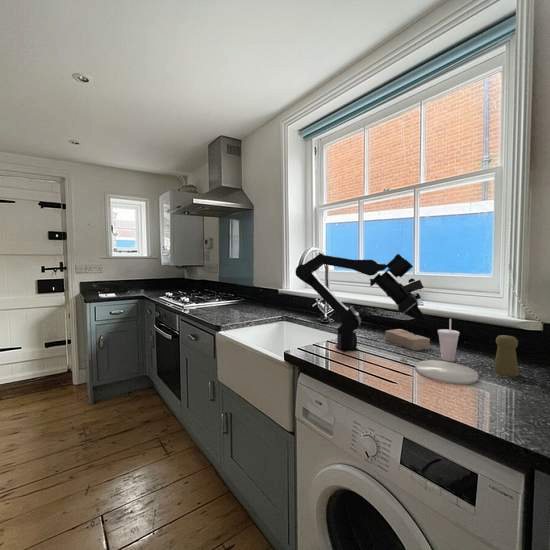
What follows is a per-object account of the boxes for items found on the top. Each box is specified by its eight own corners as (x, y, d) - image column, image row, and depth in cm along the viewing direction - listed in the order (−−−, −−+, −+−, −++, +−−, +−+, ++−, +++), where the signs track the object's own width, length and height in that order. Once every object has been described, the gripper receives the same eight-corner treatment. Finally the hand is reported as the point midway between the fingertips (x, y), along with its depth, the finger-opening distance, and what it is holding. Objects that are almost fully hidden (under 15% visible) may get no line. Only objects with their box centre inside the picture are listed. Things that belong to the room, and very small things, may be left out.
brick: (431, 349, 112) (431, 337, 112) (414, 351, 109) (414, 338, 109) (400, 339, 128) (400, 328, 127) (384, 340, 125) (384, 329, 125)
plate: (445, 386, 77) (445, 382, 77) (403, 366, 92) (403, 362, 92) (492, 380, 81) (492, 376, 81) (445, 362, 96) (445, 358, 96)
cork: (488, 369, 90) (489, 333, 90) (506, 368, 91) (507, 333, 90) (505, 376, 84) (506, 338, 84) (524, 376, 85) (525, 338, 84)
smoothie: (451, 363, 95) (452, 320, 94) (432, 358, 100) (433, 317, 100) (463, 360, 98) (464, 319, 97) (444, 355, 103) (445, 316, 103)
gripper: (410, 271, 94) (448, 307, 90) (407, 270, 111) (439, 300, 108) (383, 295, 97) (419, 330, 94) (384, 290, 115) (415, 320, 111)
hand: (424, 319), depth 101 cm, fingers open, 9 cm apart
